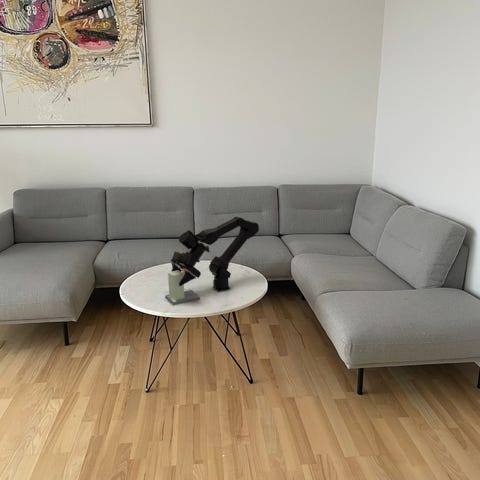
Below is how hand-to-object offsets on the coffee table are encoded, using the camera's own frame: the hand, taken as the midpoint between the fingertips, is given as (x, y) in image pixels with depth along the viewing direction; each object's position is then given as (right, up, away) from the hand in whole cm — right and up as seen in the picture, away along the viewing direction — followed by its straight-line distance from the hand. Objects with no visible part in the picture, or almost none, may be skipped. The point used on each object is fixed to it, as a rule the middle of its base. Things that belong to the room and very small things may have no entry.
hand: (174, 282), depth 200 cm
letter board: (+3, -8, +5) cm, 10 cm away
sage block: (+1, -7, +2) cm, 8 cm away
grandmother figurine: (+1, -1, +31) cm, 31 cm away
